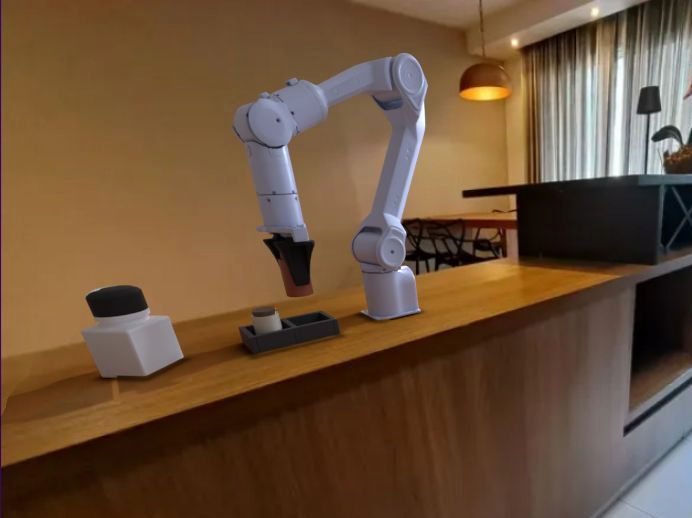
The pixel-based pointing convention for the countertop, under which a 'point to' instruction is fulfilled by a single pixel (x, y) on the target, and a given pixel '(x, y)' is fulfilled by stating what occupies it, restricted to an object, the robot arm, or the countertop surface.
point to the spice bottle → (289, 284)
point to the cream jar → (265, 320)
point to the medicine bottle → (128, 333)
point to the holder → (291, 332)
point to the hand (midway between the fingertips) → (297, 282)
